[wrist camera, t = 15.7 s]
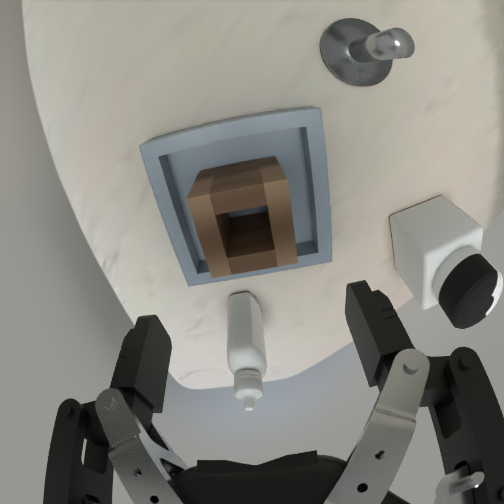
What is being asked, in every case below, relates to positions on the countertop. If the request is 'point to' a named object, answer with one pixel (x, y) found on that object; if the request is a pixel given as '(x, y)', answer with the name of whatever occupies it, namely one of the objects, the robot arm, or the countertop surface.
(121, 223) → the countertop surface
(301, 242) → the tray
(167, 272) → the countertop surface
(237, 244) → the block
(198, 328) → the countertop surface
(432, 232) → the medicine bottle
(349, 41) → the grey metal coffee tamper
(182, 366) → the countertop surface
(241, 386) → the eye dropper bottle
